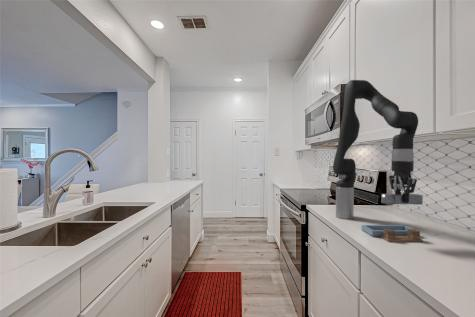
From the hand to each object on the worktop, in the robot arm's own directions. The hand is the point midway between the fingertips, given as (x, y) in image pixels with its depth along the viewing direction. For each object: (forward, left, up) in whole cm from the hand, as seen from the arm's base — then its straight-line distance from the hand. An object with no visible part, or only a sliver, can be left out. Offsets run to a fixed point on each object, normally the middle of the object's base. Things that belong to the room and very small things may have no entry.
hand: (401, 201), depth 100 cm
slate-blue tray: (-8, 0, -16) cm, 18 cm away
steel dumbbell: (0, 0, -1) cm, 1 cm away
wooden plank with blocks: (0, 0, -16) cm, 16 cm away
